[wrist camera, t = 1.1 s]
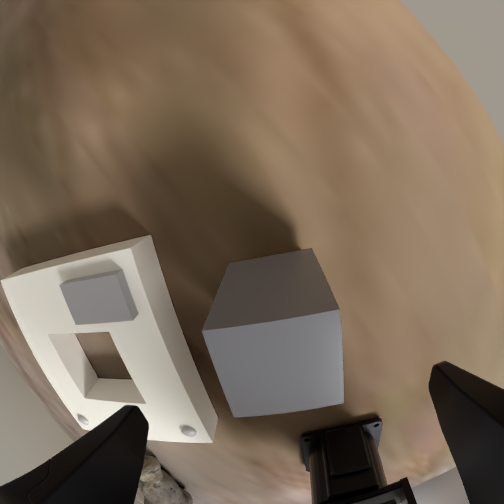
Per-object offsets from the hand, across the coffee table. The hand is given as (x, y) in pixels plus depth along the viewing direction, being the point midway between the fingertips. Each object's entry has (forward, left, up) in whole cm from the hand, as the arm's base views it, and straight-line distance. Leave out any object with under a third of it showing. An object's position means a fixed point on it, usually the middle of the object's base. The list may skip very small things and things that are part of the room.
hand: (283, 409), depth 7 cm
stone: (-21, +16, -9) cm, 28 cm away
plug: (0, 0, -9) cm, 9 cm away
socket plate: (-3, +12, -8) cm, 15 cm away
